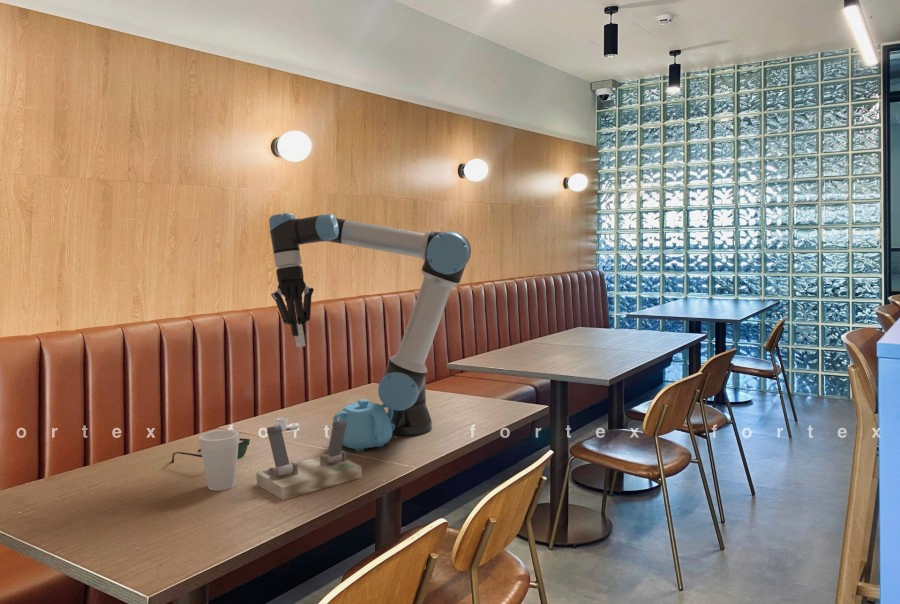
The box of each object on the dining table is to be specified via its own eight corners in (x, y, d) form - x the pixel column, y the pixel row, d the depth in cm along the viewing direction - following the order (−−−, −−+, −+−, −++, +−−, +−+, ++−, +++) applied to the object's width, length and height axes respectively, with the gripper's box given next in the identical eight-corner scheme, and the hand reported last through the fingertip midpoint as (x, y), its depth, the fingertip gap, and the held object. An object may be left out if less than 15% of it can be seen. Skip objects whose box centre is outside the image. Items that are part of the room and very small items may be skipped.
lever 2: (336, 456, 183) (344, 417, 178) (341, 462, 181) (349, 422, 177) (323, 460, 180) (330, 420, 176) (328, 465, 179) (335, 425, 174)
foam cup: (199, 494, 168) (197, 442, 167) (202, 481, 177) (200, 431, 176) (241, 490, 171) (238, 438, 169) (241, 477, 179) (239, 428, 178)
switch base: (333, 464, 189) (332, 444, 188) (361, 477, 178) (361, 456, 177) (256, 484, 174) (255, 463, 174) (282, 499, 164) (281, 477, 163)
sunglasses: (206, 448, 205) (205, 432, 205) (252, 455, 198) (251, 438, 198) (162, 466, 190) (161, 448, 190) (210, 474, 183) (209, 455, 183)
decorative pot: (352, 435, 215) (350, 392, 214) (400, 439, 210) (399, 394, 209) (326, 451, 200) (324, 405, 199) (378, 456, 195) (376, 408, 194)
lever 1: (290, 473, 173) (278, 426, 176) (294, 471, 171) (282, 423, 174) (275, 477, 171) (264, 429, 173) (279, 475, 169) (267, 426, 172)
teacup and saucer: (300, 427, 226) (300, 415, 226) (292, 434, 218) (292, 422, 218) (274, 427, 227) (274, 415, 227) (265, 434, 219) (265, 421, 219)
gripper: (302, 266, 211) (314, 343, 212) (262, 270, 203) (274, 350, 203) (314, 263, 206) (326, 342, 206) (274, 267, 197) (286, 349, 197)
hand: (301, 346), depth 205 cm, fingers closed
